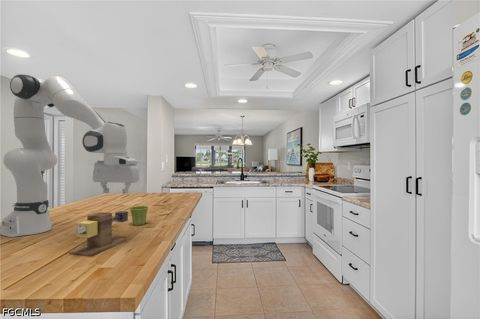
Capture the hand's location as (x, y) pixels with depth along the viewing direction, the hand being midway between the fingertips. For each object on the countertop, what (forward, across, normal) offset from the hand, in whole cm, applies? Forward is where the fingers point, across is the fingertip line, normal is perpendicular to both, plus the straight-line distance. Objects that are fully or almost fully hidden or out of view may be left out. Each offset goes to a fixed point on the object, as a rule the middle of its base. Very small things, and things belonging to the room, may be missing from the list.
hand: (115, 193), depth 106 cm
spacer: (+14, 0, -15) cm, 20 cm away
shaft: (+13, 0, -7) cm, 14 cm away
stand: (+20, 0, -9) cm, 22 cm away
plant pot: (+20, -6, +25) cm, 33 cm away
